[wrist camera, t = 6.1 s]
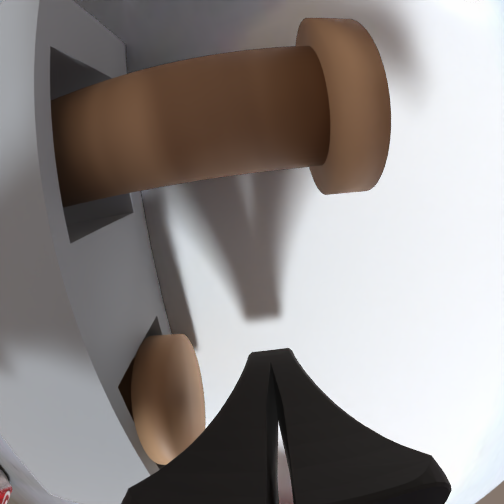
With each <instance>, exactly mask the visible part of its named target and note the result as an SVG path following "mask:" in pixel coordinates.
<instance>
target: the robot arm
mask: <svg viewBox="0 0 504 504" xmlns="http://www.w3.org/2000/svg"><path fill="white" fill-rule="evenodd" d="M278 421H279V426H280V431H281V435H282V440H283V444H284V449H285V453H286V458H287V462H288V467H289V471H290V477H291V484H292V493H293V502H294V504H444V503H445V502H446V501H447V499H448V497H449V494H450V492H451V485H450V483H449V481H448V479H447V477H446V475H445V473H444V472H443V471H442V469H441V468H440V466H439V465H438V464H437V462H436V461H435V460H434V458H433V457H432V456H431V455H428V454H425V453H422V452H419V451H416V450H414V449H411V448H408V447H405V446H402V445H400V444H398V443H395V442H393V441H391V440H389V439H387V438H385V437H383V436H381V435H380V434H378V433H376V432H374V431H373V430H371V429H369V428H368V427H366V426H364V425H363V424H361V423H360V422H358V421H357V420H355V419H354V418H353V417H351V416H350V415H348V414H347V413H346V412H345V411H343V410H342V409H341V408H340V407H338V406H337V405H336V404H335V403H334V402H333V401H332V400H331V399H330V398H329V397H328V396H327V395H326V394H325V393H324V392H323V391H322V390H321V389H320V388H319V387H318V386H317V385H316V384H315V383H314V382H313V380H312V379H311V378H310V377H309V376H308V375H307V373H306V372H305V371H304V369H303V368H302V367H301V365H300V364H299V362H298V361H297V359H296V358H295V356H294V354H293V352H292V350H290V349H289V348H284V349H277V350H268V351H260V352H252V353H251V354H250V355H249V356H248V360H247V363H246V365H245V368H244V370H243V372H242V374H241V376H240V378H239V380H238V382H237V384H236V386H235V388H234V390H233V391H232V393H231V395H230V396H229V398H228V399H227V401H226V402H225V404H224V405H223V407H222V409H221V410H220V411H219V413H218V414H217V415H216V417H215V418H214V419H213V421H212V422H211V423H210V424H209V425H208V427H207V428H206V429H205V430H204V431H203V432H202V433H201V434H200V435H199V436H198V437H197V438H196V440H195V441H194V442H193V443H192V444H191V445H189V446H188V447H187V448H186V449H185V450H184V451H183V452H182V453H180V454H179V455H178V456H177V457H175V458H174V459H173V460H172V461H170V462H169V463H168V464H167V465H165V466H164V467H163V468H161V469H160V470H159V471H157V472H156V473H154V474H152V475H151V476H149V477H147V478H146V479H144V480H142V481H140V482H139V483H137V484H135V485H133V486H132V487H130V488H128V490H127V493H126V495H125V497H124V498H123V500H122V503H121V504H279V496H278V484H277V457H278Z"/></svg>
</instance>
